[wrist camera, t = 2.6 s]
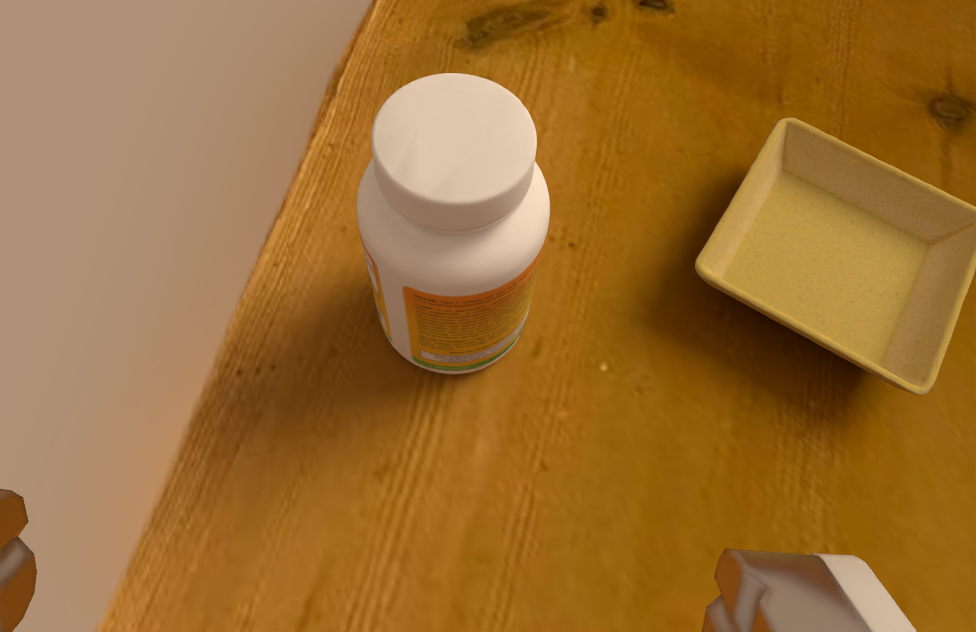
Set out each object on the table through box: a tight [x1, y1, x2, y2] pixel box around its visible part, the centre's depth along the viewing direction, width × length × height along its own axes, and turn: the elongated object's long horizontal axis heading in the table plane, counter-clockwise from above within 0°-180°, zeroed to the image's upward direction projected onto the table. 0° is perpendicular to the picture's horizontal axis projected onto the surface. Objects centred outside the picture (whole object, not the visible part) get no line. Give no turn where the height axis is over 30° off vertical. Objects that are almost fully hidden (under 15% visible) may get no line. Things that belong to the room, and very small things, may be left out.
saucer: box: [695, 118, 976, 395], centre depth 26 cm, size 9×9×2 cm
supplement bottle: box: [357, 73, 550, 374], centre depth 21 cm, size 5×5×10 cm
